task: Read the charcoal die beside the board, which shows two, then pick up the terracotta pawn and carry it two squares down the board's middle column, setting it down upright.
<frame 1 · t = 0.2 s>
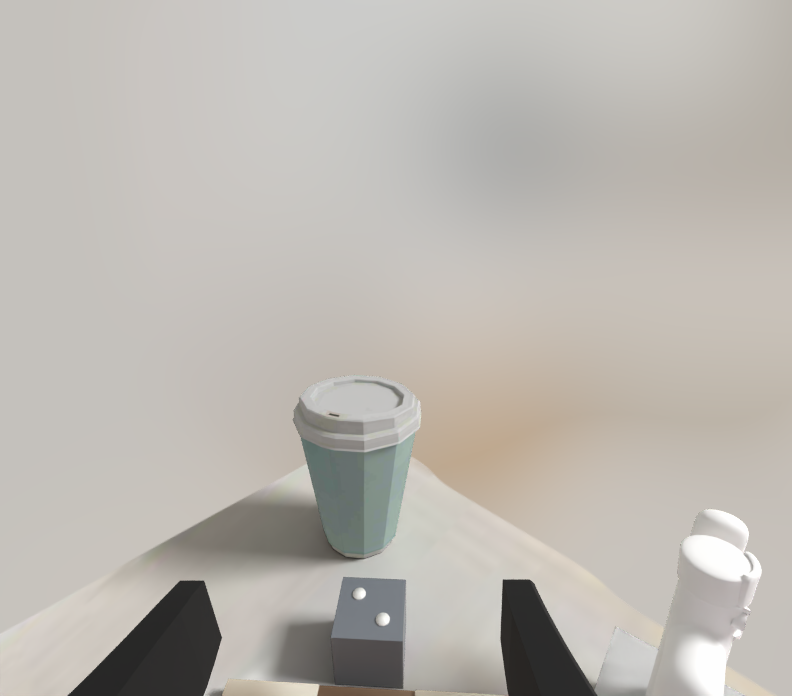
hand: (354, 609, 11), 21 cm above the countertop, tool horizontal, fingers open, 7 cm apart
disposable coffee cup: (364, 535, 42), on the countertop
die: (372, 653, 31), on the countertop
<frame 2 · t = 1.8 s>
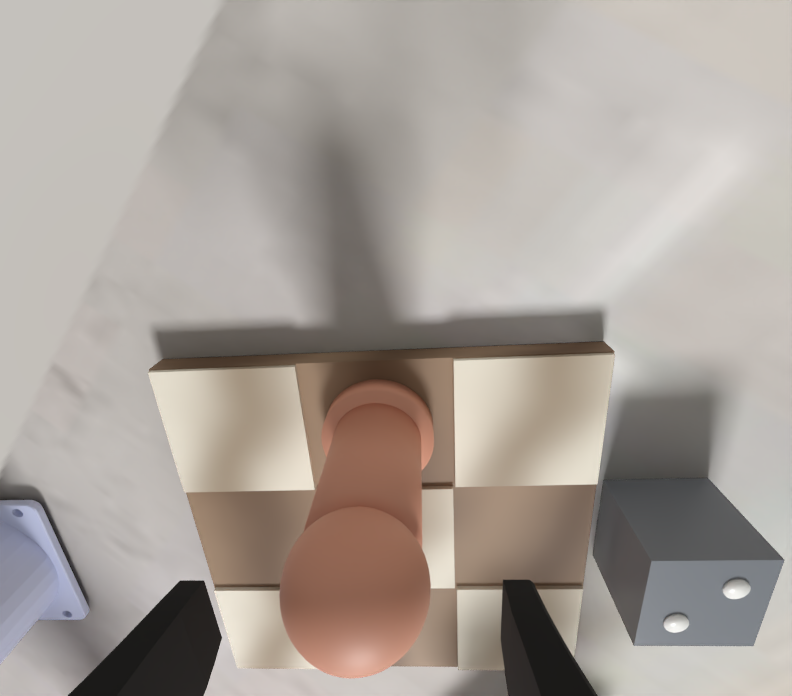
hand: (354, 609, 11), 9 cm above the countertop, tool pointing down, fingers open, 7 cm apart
board: (390, 522, 21), on the countertop
die: (646, 516, 21), on the countertop
pawn: (379, 427, 18), point 1 cm above the countertop, touching board
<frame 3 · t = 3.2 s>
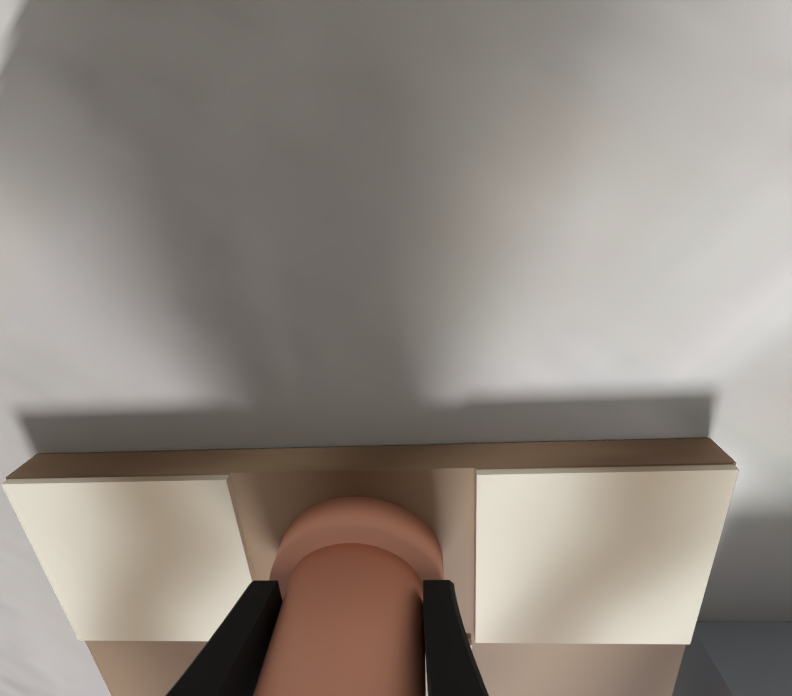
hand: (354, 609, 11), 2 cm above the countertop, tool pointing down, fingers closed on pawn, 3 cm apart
board: (380, 667, 15), on the countertop
die: (746, 666, 14), on the countertop
pawn: (361, 561, 12), point 1 cm above the countertop, touching board, gripper
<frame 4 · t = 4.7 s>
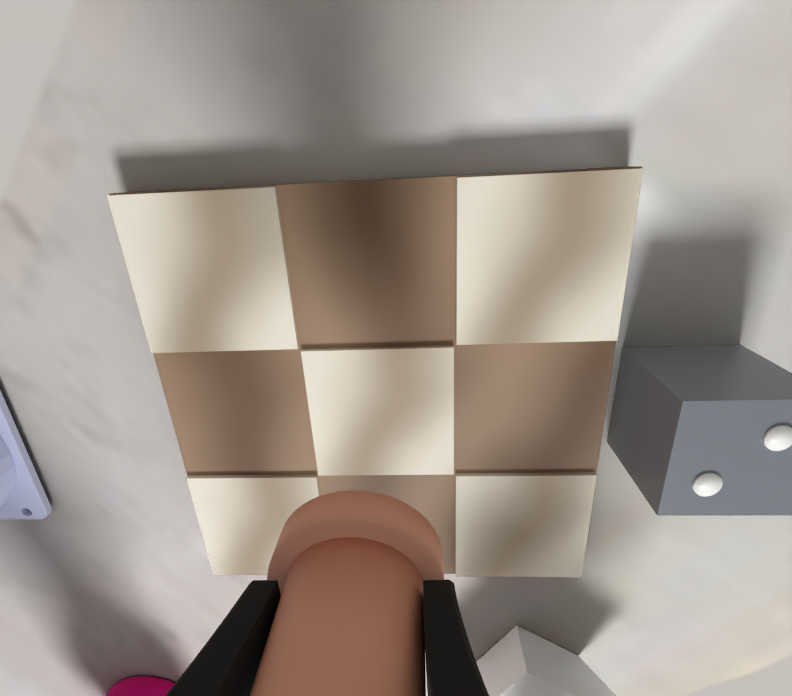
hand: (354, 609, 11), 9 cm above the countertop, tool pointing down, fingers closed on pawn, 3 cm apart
board: (383, 401, 19), on the countertop
die: (668, 394, 18), on the countertop
figurine: (522, 658, 25), on the countertop
pawn: (360, 554, 12), point 8 cm above the countertop, touching gripper
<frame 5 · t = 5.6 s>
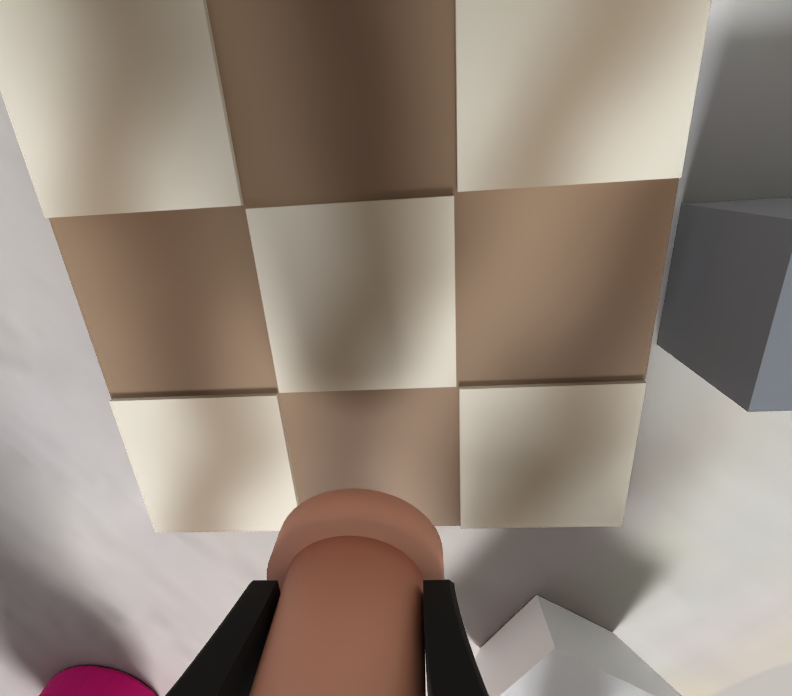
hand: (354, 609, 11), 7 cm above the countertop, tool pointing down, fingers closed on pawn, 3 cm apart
board: (362, 293, 15), on the countertop
die: (741, 273, 14), on the countertop
figurine: (544, 636, 21), on the countertop
pawn: (360, 552, 12), point 5 cm above the countertop, touching gripper
when the fingers open (4 cm above the countertop, at t = 6.4 s): pawn drops 2 cm, resting on board.
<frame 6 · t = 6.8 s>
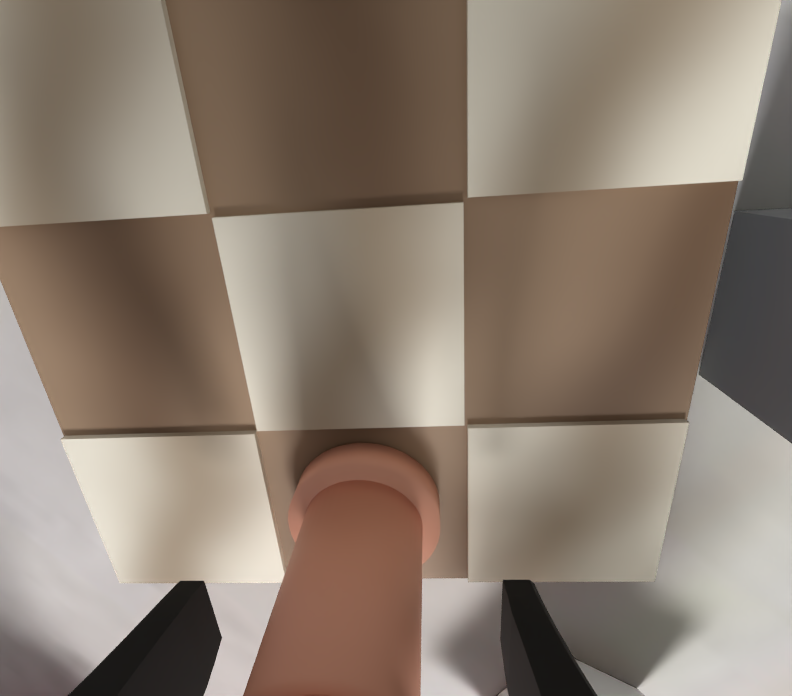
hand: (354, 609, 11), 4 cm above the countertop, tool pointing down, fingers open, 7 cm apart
board: (354, 315, 12), on the countertop
figurine: (559, 691, 19), on the countertop
pawn: (367, 501, 14), point 1 cm above the countertop, touching board
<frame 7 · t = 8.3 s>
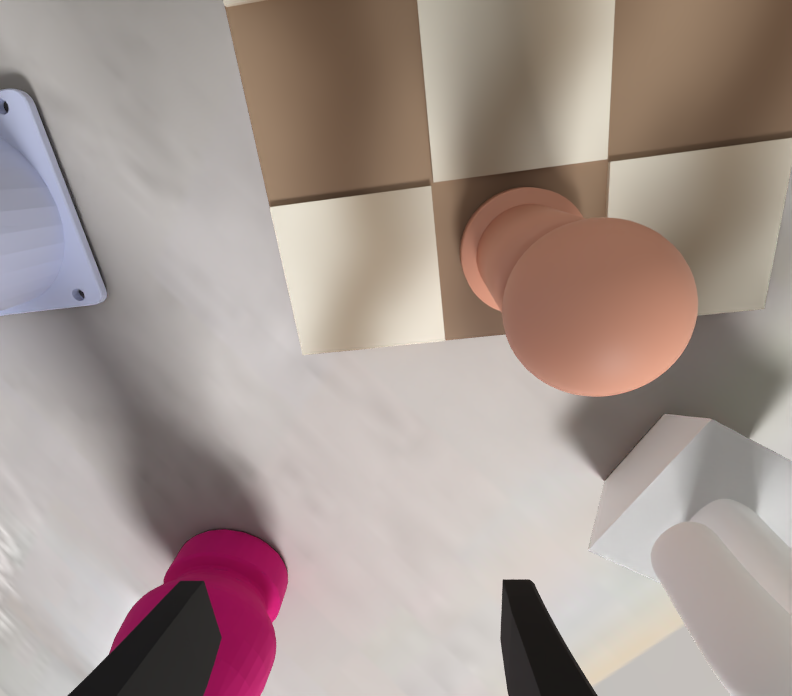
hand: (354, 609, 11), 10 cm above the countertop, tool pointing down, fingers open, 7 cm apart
board: (509, 79, 15), on the countertop
figurine: (668, 465, 21), on the countertop
pawn: (519, 249, 16), point 1 cm above the countertop, touching board
pepper mill: (235, 567, 25), on the countertop
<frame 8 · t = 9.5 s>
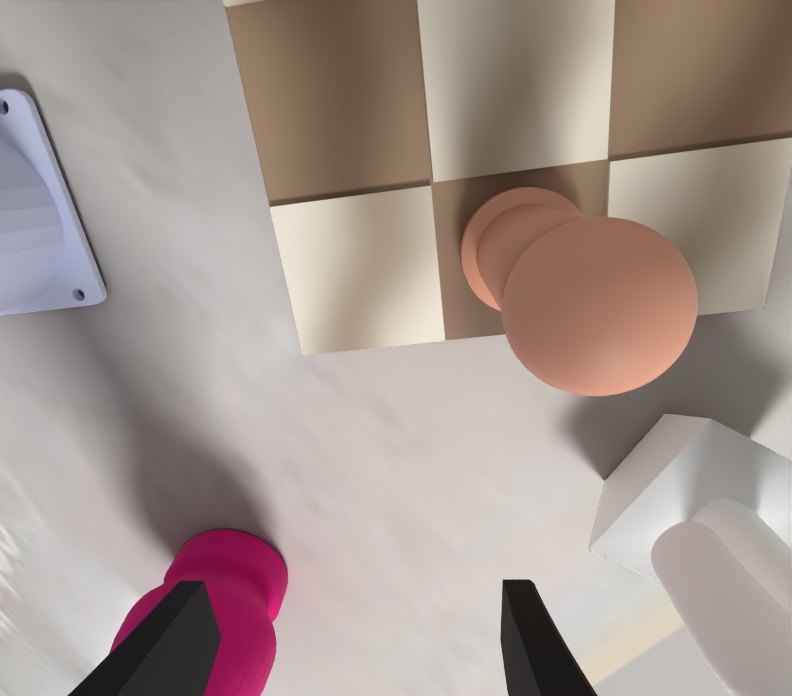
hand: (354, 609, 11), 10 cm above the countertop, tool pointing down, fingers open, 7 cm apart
board: (509, 79, 15), on the countertop
figurine: (668, 464, 21), on the countertop
pawn: (519, 249, 16), point 1 cm above the countertop, touching board
pepper mill: (235, 567, 25), on the countertop
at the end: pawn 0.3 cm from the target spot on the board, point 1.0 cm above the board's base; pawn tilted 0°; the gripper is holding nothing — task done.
